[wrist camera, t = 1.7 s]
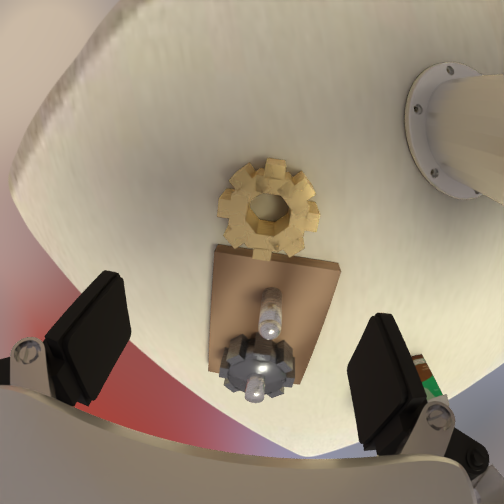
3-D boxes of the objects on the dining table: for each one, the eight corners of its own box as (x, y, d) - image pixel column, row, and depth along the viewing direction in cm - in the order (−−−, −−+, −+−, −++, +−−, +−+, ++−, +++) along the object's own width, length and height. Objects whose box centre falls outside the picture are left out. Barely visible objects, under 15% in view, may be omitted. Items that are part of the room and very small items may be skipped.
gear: (301, 337, 27) (303, 379, 23) (286, 382, 31) (285, 420, 26) (226, 326, 28) (216, 367, 23) (222, 372, 31) (213, 410, 26)
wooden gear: (322, 167, 21) (328, 174, 19) (305, 249, 25) (307, 267, 22) (230, 152, 22) (222, 157, 19) (222, 236, 25) (214, 252, 22)
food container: (383, 349, 29) (404, 418, 21) (425, 346, 29) (452, 408, 20) (358, 405, 35) (367, 463, 26) (395, 401, 34) (408, 456, 25)
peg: (283, 288, 25) (283, 329, 20) (280, 304, 26) (278, 345, 21) (263, 285, 25) (259, 325, 20) (260, 301, 26) (255, 342, 21)
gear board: (338, 263, 25) (341, 271, 24) (299, 375, 32) (299, 384, 31) (218, 244, 25) (214, 251, 24) (210, 362, 33) (208, 371, 31)
